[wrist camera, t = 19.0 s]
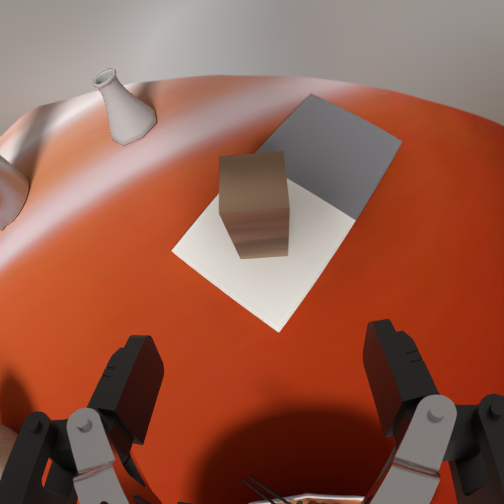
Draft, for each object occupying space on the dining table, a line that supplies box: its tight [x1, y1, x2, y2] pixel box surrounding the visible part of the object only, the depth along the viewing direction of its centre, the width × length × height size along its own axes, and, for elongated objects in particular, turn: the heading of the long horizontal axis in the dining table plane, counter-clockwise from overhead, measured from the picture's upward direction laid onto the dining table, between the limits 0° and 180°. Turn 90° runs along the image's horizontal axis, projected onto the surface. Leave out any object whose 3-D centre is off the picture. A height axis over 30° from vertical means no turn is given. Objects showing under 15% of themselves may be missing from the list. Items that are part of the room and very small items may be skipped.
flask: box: [93, 69, 157, 146], centre depth 32 cm, size 7×7×10 cm
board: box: [172, 94, 402, 332], centre depth 30 cm, size 26×13×1 cm, turn 143°
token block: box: [219, 151, 290, 259], centre depth 24 cm, size 4×4×10 cm
